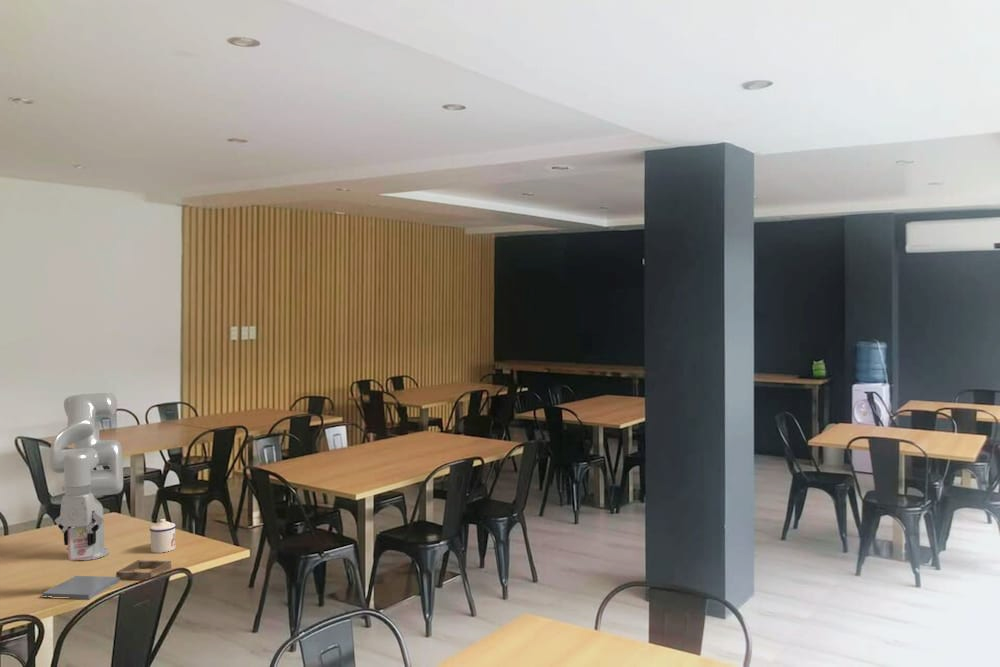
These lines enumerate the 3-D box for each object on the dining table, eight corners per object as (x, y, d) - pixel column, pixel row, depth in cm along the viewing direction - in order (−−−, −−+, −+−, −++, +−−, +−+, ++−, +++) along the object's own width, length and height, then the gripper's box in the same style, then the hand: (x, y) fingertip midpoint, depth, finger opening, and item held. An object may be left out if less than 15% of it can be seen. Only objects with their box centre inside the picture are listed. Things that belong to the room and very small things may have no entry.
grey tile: (42, 597, 250) (42, 593, 250) (75, 580, 266) (75, 575, 265) (88, 599, 248) (88, 594, 248) (119, 581, 264) (119, 577, 263)
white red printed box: (68, 558, 256) (67, 527, 255) (91, 554, 259) (90, 524, 259) (69, 561, 253) (68, 530, 252) (92, 557, 256) (91, 526, 256)
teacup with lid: (177, 551, 296) (176, 520, 295) (151, 555, 291) (150, 523, 291) (174, 542, 306) (173, 513, 306) (149, 546, 302) (148, 516, 302)
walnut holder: (116, 579, 266) (116, 572, 265) (138, 567, 278) (137, 560, 278) (151, 580, 264) (150, 573, 264) (171, 567, 276) (171, 560, 276)
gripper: (45, 493, 253) (47, 547, 253) (95, 493, 251) (97, 548, 251) (61, 487, 260) (63, 540, 261) (110, 488, 258) (112, 541, 259)
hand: (80, 543), depth 256 cm, fingers closed on white red printed box, 7 cm apart
